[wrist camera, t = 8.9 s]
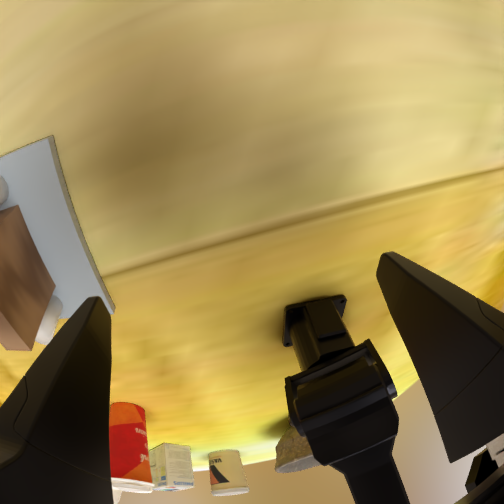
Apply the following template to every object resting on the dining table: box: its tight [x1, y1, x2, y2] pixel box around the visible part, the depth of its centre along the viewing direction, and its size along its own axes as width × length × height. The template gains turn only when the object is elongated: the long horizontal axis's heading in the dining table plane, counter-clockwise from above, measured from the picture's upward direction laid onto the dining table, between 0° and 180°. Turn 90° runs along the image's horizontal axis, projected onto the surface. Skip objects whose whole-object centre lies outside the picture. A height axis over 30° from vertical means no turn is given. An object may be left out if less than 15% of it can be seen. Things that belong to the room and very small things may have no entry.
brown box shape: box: [0, 205, 56, 351], centre depth 15 cm, size 8×3×7 cm, turn 2°
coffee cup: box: [209, 450, 249, 496], centre depth 54 cm, size 9×9×12 cm
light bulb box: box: [149, 443, 195, 491], centre depth 48 cm, size 11×7×11 cm, turn 143°
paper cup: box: [109, 402, 155, 493], centre depth 31 cm, size 8×8×14 cm
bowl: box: [275, 426, 321, 473], centre depth 47 cm, size 21×21×10 cm
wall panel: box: [0, 135, 115, 345], centre depth 16 cm, size 16×11×5 cm
